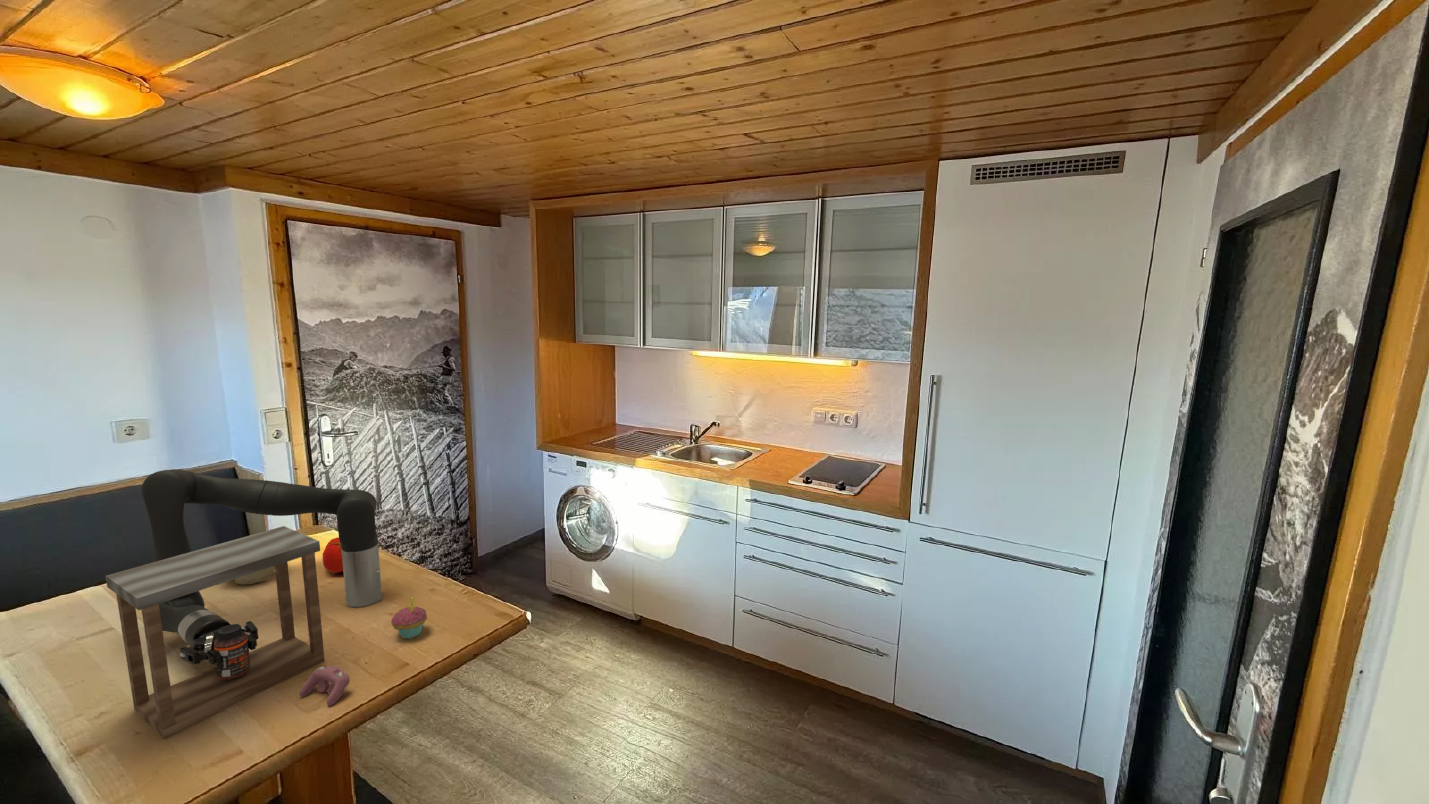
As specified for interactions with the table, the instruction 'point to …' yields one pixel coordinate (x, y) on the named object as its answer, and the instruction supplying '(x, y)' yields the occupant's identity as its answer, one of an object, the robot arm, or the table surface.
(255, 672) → the under-counter shelf
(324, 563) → the tomato
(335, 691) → the video game controller
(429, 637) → the table surface
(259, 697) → the table surface
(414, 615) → the cupcake
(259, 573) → the planter bowl
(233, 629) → the supplement bottle
